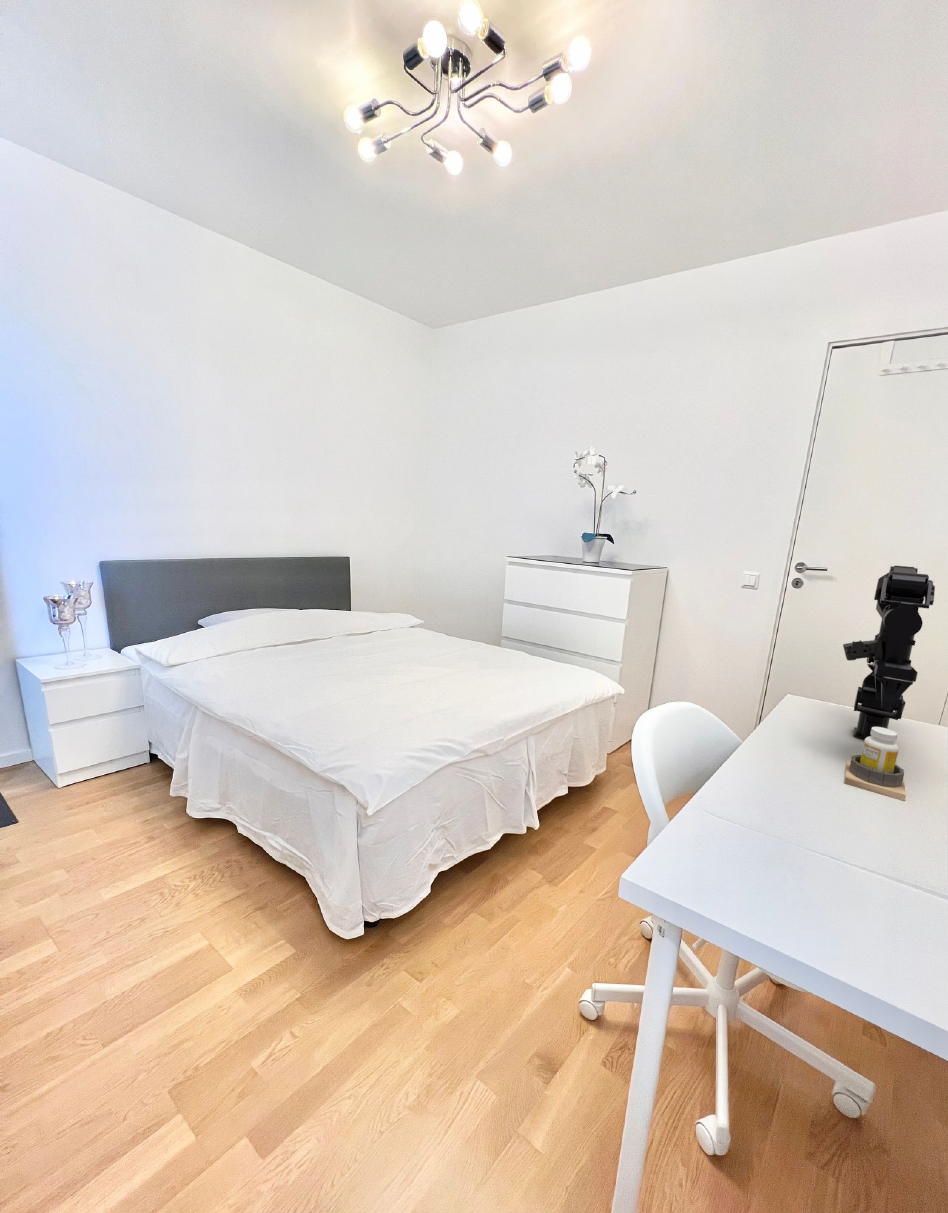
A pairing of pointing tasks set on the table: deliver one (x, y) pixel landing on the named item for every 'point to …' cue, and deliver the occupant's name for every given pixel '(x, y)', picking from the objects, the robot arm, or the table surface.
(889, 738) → the supplement bottle
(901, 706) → the robot arm
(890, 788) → the ring holder
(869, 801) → the table surface
